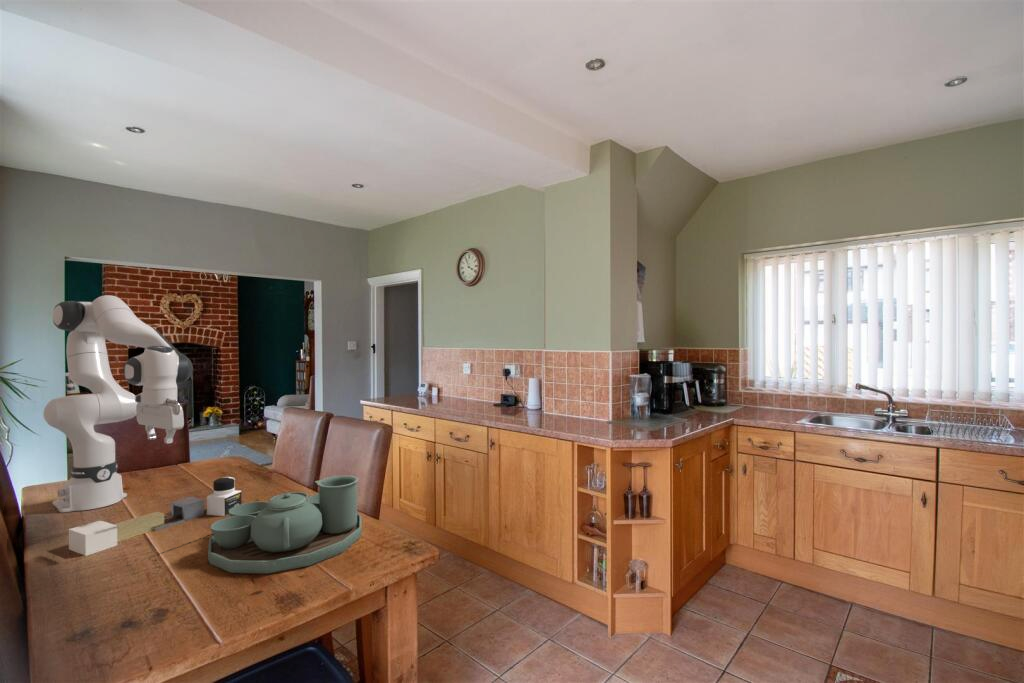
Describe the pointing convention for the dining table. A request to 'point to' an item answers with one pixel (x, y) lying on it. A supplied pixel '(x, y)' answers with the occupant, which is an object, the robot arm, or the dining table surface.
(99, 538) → the socket
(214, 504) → the medicine bottle
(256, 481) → the dining table surface
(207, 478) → the dining table surface
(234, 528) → the tea set
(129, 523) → the olive rectangular bar
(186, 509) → the sleeve
